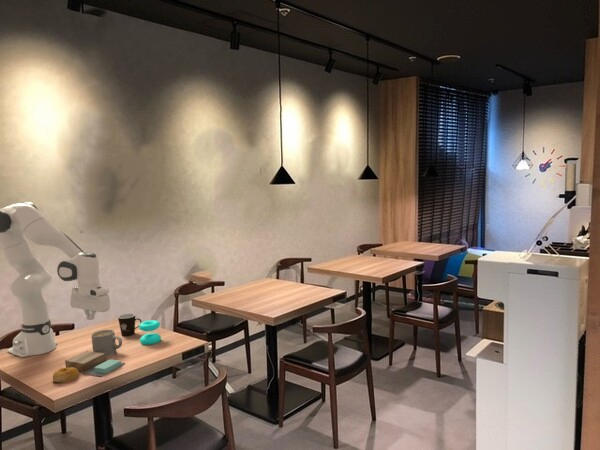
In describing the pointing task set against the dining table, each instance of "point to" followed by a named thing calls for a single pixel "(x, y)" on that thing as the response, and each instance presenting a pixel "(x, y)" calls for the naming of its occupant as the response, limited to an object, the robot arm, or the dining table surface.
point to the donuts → (150, 337)
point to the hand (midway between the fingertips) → (90, 319)
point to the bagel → (65, 375)
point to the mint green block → (107, 366)
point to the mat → (91, 372)
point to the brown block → (86, 360)
